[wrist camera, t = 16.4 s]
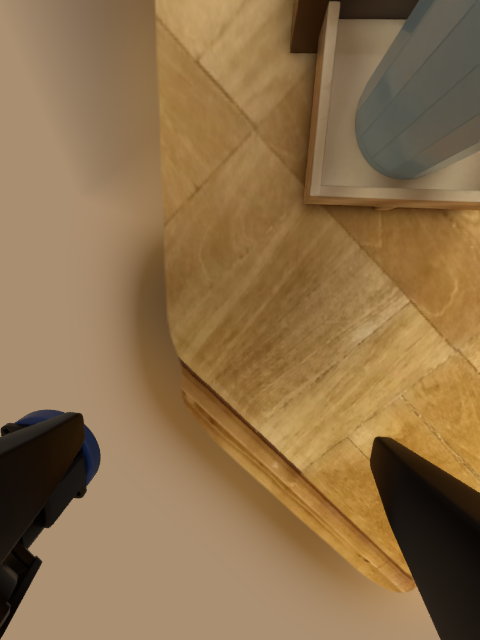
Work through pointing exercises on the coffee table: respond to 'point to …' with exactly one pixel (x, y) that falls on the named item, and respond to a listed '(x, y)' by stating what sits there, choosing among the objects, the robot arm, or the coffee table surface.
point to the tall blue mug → (424, 93)
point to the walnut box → (341, 105)
